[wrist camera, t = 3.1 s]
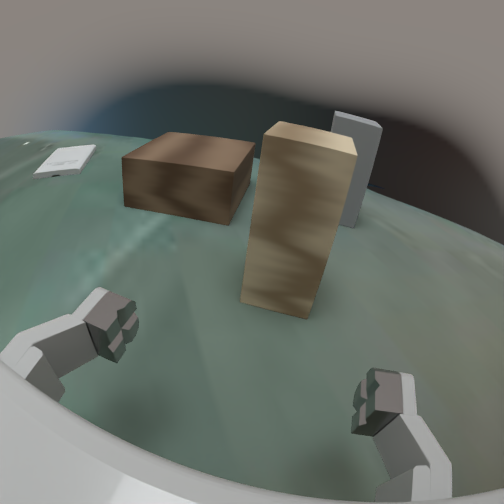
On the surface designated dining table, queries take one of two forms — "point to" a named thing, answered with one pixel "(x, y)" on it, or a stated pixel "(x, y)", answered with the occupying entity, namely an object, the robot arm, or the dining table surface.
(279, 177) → the maple block
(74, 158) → the external hard drive
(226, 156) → the walnut base block
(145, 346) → the dining table surface
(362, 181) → the grey block
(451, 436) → the dining table surface
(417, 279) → the dining table surface
